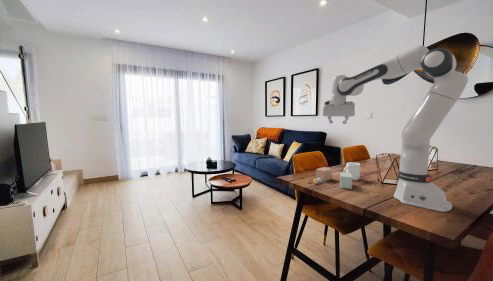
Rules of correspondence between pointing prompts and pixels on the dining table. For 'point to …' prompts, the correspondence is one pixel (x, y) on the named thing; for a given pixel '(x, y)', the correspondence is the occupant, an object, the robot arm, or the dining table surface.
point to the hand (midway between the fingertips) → (337, 123)
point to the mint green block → (345, 180)
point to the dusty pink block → (324, 173)
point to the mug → (353, 170)
